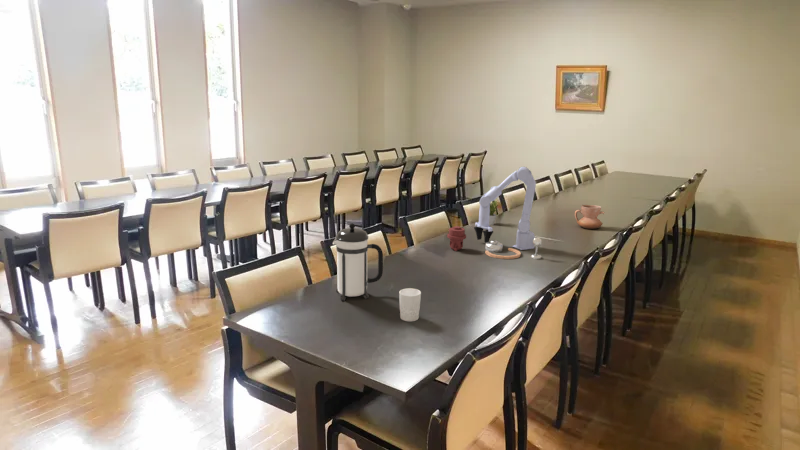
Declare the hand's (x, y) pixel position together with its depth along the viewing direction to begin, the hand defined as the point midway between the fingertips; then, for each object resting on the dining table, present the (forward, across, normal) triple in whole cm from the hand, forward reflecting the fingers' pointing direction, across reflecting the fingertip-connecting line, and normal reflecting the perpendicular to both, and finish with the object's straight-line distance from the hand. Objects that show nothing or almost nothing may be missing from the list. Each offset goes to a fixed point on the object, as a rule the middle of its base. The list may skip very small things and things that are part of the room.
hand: (482, 241), depth 286 cm
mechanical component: (+2, +4, -19) cm, 19 cm away
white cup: (+2, +77, -80) cm, 111 cm away
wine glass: (+2, +32, +12) cm, 34 cm away
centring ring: (+2, +22, 0) cm, 22 cm away
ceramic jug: (+2, -12, +87) cm, 88 cm away
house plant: (+2, -42, +33) cm, 54 cm away
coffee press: (+2, +48, -91) cm, 103 cm away
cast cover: (+2, +11, 0) cm, 11 cm away
